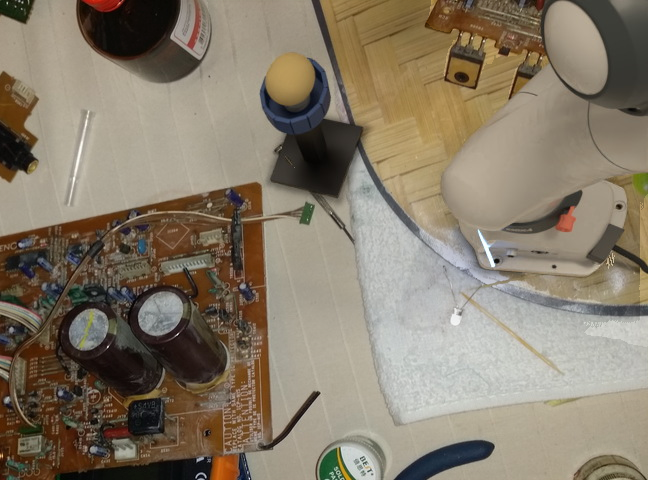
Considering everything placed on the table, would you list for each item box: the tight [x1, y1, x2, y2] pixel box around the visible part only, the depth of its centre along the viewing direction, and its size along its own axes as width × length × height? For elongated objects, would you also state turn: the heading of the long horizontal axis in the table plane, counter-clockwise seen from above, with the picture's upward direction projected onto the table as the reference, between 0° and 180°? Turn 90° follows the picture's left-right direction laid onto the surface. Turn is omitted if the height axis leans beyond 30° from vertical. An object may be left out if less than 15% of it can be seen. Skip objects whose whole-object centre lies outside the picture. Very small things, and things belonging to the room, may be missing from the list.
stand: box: [269, 118, 364, 199], centre depth 109 cm, size 12×12×22 cm
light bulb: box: [265, 51, 315, 113], centre depth 94 cm, size 6×6×10 cm
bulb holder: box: [259, 56, 332, 135], centre depth 97 cm, size 9×9×4 cm
